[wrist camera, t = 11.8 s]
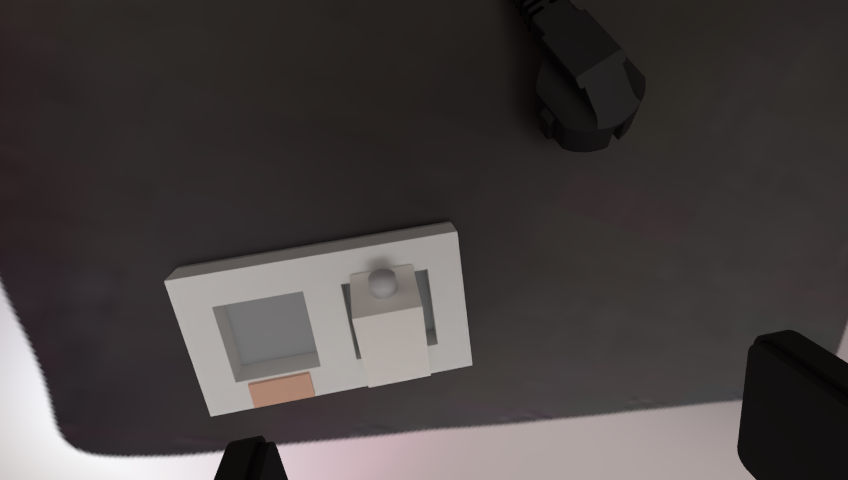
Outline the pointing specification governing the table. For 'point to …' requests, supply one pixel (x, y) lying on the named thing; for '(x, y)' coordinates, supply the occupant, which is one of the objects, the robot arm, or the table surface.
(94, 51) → the table surface
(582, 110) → the power plug
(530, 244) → the table surface
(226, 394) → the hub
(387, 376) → the plug
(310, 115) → the table surface
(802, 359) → the robot arm
